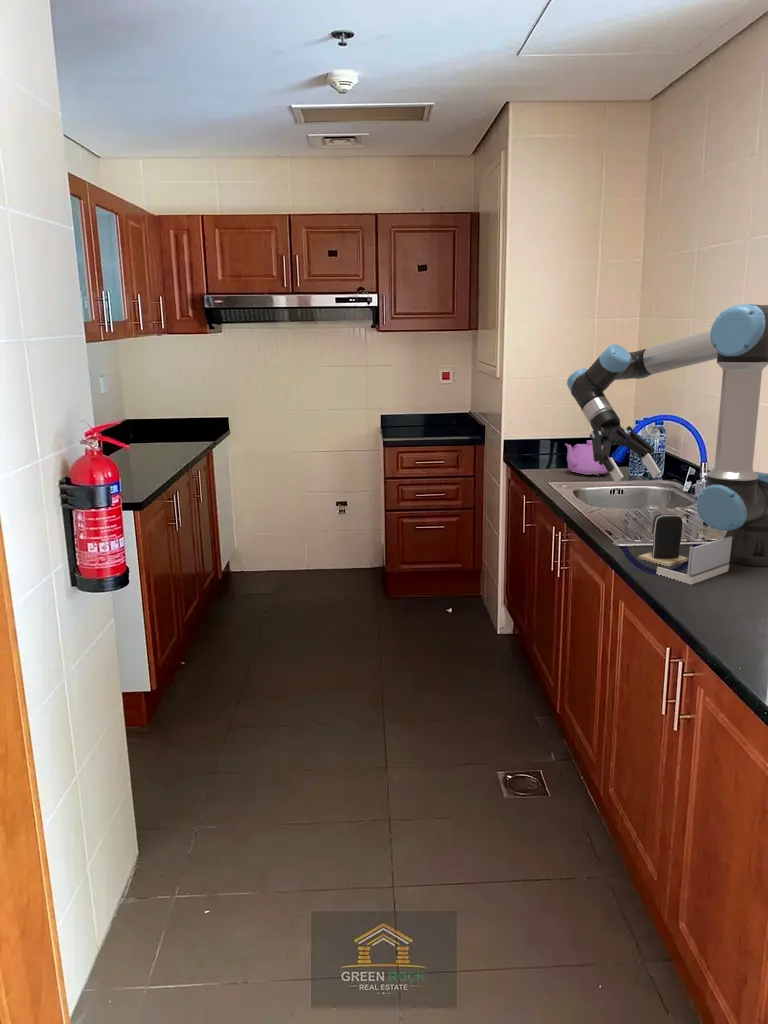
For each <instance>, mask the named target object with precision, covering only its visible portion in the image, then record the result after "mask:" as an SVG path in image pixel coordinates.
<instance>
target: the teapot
mask: <svg viewBox="0 0 768 1024" xmlns="http://www.w3.org/2000/svg"><path fill="white" fill-rule="evenodd" d="M564 446H566V448H567V455H566V461H567V468H568V469H569V471H570V470H571V471H572V472H576V473H580V474H598V473H606V472H607V473H608V471H607V469H606V468H605V466H604V464H602V465H600V464H599V461H598V462H595V461H594V456H593V446H592V440H586V443H581V444H580V443H576V444H575V445H574V446H572V445H571V444H568V443H566V442H565V443H564ZM602 449H603V446H602ZM609 458H610V457H609ZM609 458H608V459H609ZM571 471H570V472H571ZM572 472H571V473H572ZM607 473H606V474H607Z"/></svg>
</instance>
